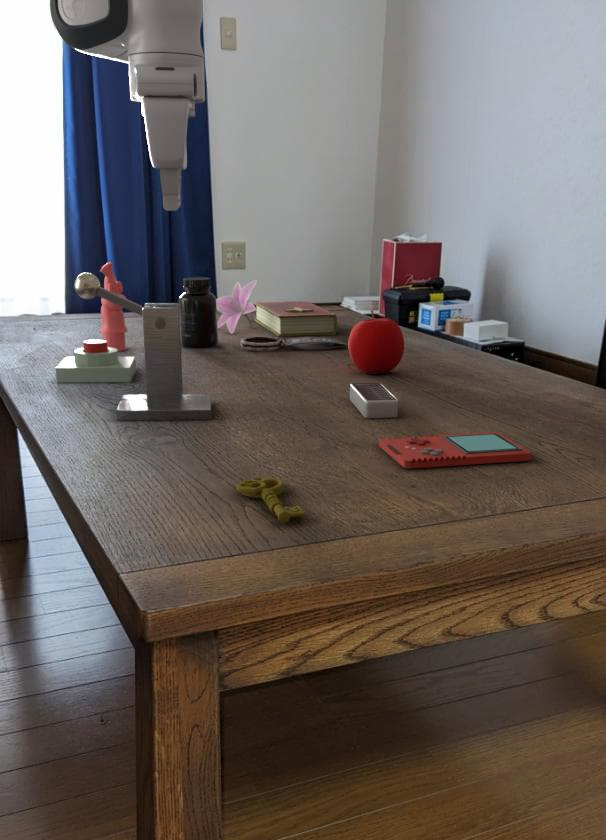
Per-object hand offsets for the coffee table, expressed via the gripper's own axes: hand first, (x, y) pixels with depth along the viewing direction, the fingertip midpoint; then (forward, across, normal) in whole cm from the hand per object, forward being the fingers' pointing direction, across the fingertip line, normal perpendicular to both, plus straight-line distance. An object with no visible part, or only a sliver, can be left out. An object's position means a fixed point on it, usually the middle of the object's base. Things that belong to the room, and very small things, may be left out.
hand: (172, 209), depth 112 cm
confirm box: (+25, -22, -13) cm, 36 cm away
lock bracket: (+25, +1, -2) cm, 25 cm away
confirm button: (+22, -22, -13) cm, 34 cm away
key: (+26, +39, +9) cm, 47 cm away
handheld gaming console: (+26, +23, +32) cm, 47 cm away
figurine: (+25, -45, -13) cm, 53 cm away
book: (+25, -69, +22) cm, 77 cm away
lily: (+25, -66, +10) cm, 72 cm away
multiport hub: (+26, +1, +26) cm, 37 cm away
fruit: (+25, -23, +31) cm, 46 cm away
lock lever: (+13, +1, -7) cm, 15 cm away
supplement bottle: (+25, -49, +2) cm, 55 cm away
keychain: (+25, -45, +19) cm, 55 cm away
